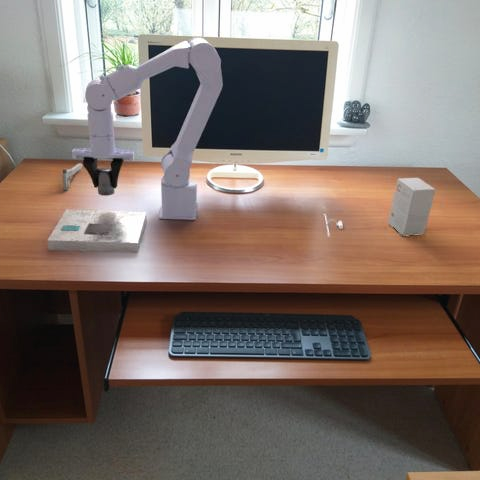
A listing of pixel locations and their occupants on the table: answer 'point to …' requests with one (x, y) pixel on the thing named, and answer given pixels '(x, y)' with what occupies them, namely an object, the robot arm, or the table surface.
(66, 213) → the plate
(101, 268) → the table surface
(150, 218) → the table surface
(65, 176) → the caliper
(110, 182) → the cylinder
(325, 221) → the picture light
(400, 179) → the small box
